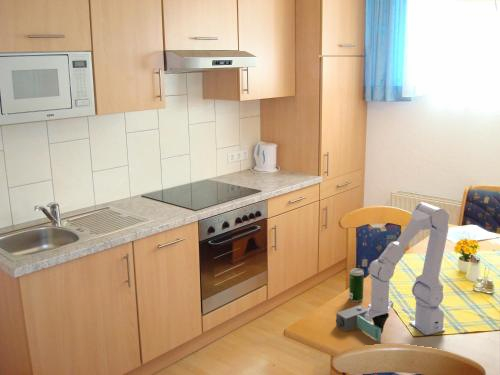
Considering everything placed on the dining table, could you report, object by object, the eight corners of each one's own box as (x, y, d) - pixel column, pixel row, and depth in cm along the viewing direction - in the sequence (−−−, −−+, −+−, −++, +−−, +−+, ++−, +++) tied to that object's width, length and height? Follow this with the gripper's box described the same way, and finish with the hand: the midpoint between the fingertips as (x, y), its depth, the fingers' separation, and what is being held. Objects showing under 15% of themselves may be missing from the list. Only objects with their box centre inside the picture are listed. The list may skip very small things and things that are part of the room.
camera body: (343, 332, 187) (343, 317, 185) (334, 326, 191) (334, 312, 190) (369, 322, 193) (369, 308, 192) (359, 317, 197) (359, 303, 196)
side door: (355, 326, 189) (355, 315, 188) (358, 325, 190) (358, 314, 189) (378, 341, 179) (378, 329, 178) (381, 340, 180) (381, 328, 179)
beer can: (355, 303, 208) (356, 274, 205) (346, 298, 212) (346, 270, 210) (366, 299, 211) (366, 271, 208) (356, 295, 215) (356, 266, 212)
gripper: (381, 285, 187) (379, 321, 190) (357, 299, 177) (356, 336, 180) (399, 291, 182) (397, 327, 185) (375, 305, 172) (374, 344, 175)
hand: (378, 332), depth 182 cm, fingers closed
